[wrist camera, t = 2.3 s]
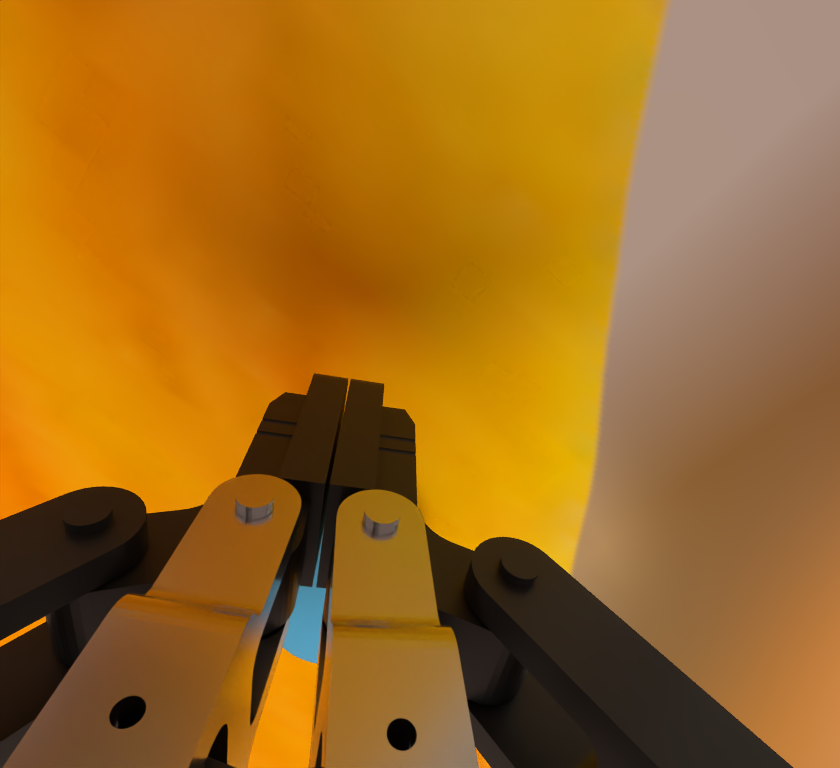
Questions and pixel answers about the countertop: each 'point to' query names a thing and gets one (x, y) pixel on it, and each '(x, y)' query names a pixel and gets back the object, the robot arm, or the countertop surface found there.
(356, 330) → the countertop surface
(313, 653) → the ball
